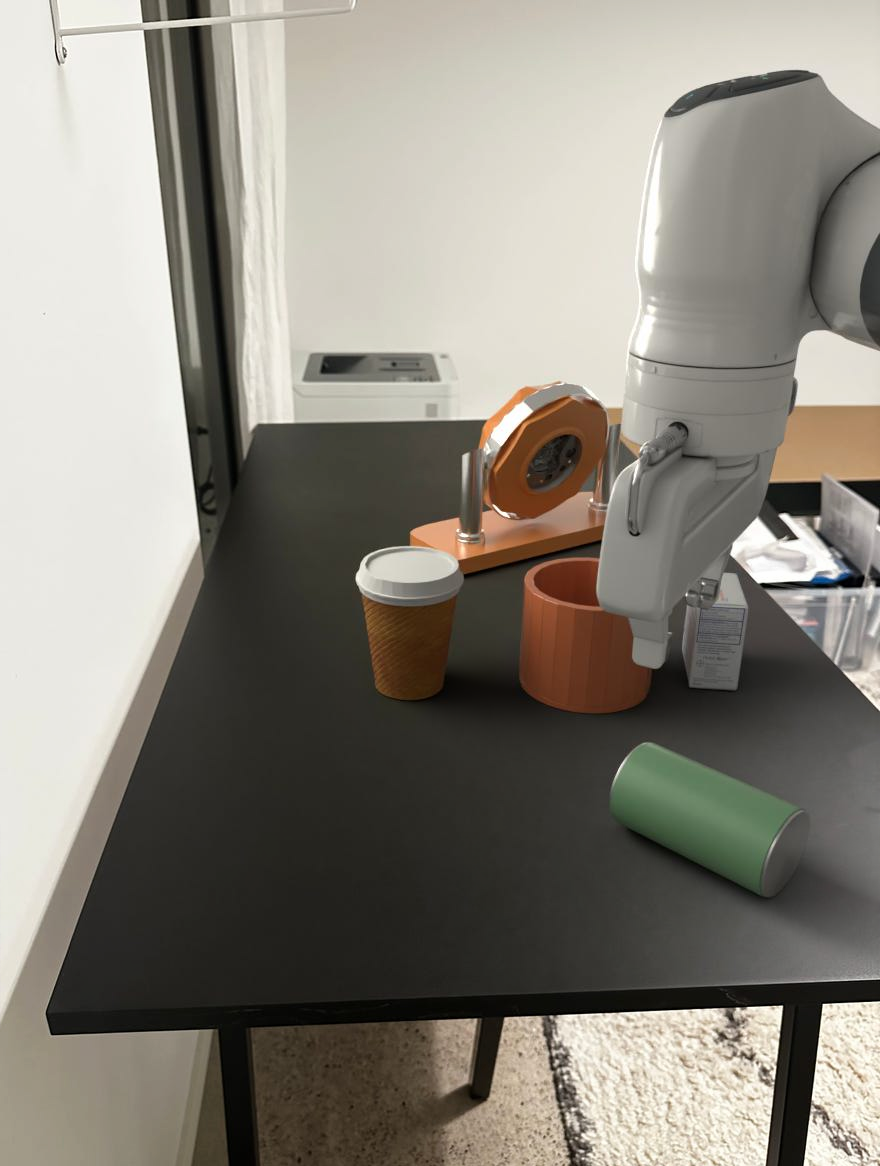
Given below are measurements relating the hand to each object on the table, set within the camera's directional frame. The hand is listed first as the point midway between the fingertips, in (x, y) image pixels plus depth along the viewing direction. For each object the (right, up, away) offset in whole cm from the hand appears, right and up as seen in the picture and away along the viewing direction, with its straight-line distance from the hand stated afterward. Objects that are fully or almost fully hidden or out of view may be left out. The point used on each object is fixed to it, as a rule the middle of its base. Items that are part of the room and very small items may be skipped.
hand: (677, 631), depth 64 cm
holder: (0, -4, +33) cm, 34 cm away
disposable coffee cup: (-16, -5, +33) cm, 37 cm away
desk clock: (-1, +12, +67) cm, 68 cm away
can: (+4, -16, +10) cm, 19 cm away
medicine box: (+12, -4, +35) cm, 37 cm away
